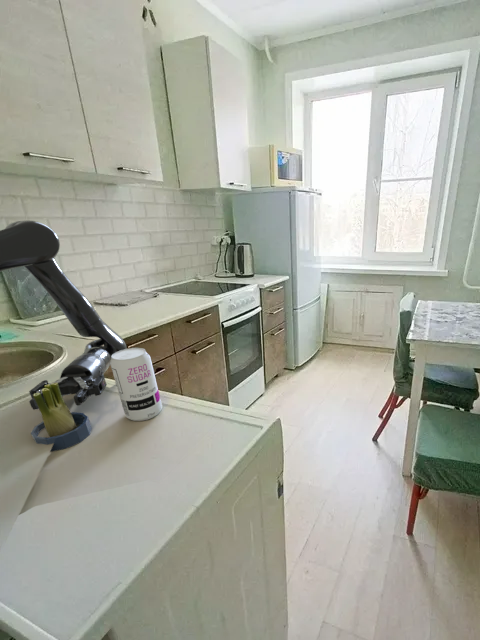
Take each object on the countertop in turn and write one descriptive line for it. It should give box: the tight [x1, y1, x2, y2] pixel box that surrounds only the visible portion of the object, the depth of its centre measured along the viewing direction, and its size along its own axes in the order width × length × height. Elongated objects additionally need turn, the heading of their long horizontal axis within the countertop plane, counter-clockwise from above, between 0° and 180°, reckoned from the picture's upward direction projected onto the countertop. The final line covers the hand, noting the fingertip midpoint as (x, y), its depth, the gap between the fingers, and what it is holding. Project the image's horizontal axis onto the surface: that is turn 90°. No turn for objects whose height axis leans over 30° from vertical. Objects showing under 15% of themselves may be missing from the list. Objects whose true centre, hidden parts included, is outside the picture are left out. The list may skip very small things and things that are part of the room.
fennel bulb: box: [33, 382, 78, 437], centre depth 73 cm, size 6×5×12 cm
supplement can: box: [110, 347, 163, 422], centre depth 79 cm, size 8×8×15 cm
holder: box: [30, 411, 93, 453], centre depth 75 cm, size 10×10×3 cm
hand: (55, 403), depth 73 cm, fingers open, 8 cm apart
